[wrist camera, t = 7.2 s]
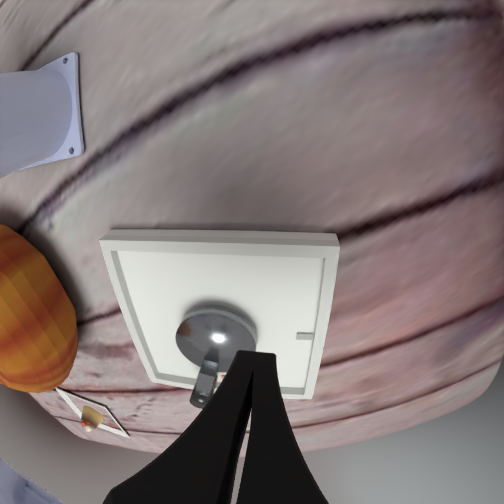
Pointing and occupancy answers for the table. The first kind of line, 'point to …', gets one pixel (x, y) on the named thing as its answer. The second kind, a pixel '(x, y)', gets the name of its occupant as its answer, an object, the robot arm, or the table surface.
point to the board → (226, 294)
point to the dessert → (91, 415)
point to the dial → (213, 344)
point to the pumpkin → (33, 319)
